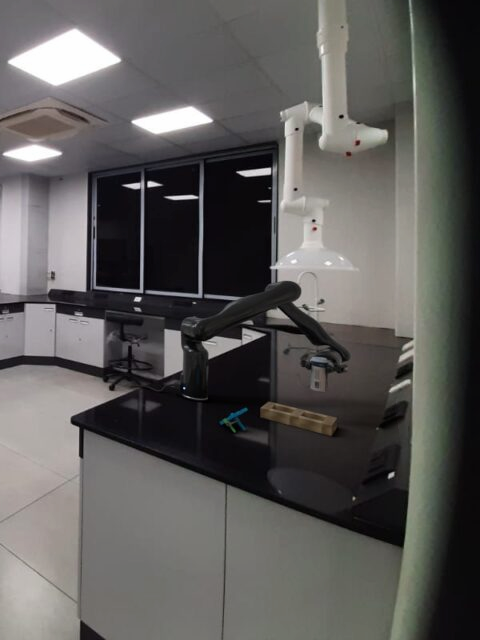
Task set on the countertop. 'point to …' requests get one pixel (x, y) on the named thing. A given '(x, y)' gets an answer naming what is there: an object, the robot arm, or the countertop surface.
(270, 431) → the countertop surface
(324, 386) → the beer can
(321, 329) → the robot arm
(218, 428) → the countertop surface
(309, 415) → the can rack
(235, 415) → the blue-green rod frame
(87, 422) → the countertop surface
